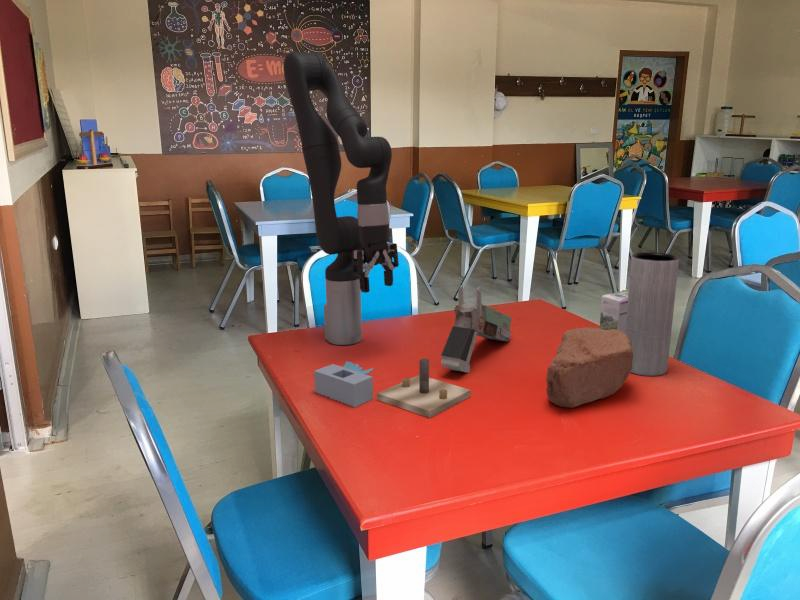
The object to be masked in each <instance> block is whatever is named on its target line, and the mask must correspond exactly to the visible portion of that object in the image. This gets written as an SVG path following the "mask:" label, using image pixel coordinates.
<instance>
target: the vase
mask: <svg viewBox="0 0 800 600" xmlns="http://www.w3.org/2000/svg"><path fill="white" fill-rule="evenodd" d="M630 259H631V260H630V269H629V271H630V272H629V281H628V283H629V284H628V294H627V296H628V304H627V315H626V327H625V334H626V335H627V336H628V337H629V339H630V342H631V347H632V351H633V362H632V370H631V372H630V374H634V375H638V376H645V377H646V376H647V377H658V376H662V375H664V374H666V373H667V372H668V366H669V360H670V359H669V357H670V349H671V337H672V328H673V318H674V311H675V300H676V291H677V290H676V289H677V281H678V280H677V279H678V273H679V272H678V270H679V262H680V260H679V259H680V258H679V257H678V256H677V255H674V254H669V253H664V252H663V253H662V252H647V251H646V252H636V253H633V254H632V255H631V258H630Z"/></svg>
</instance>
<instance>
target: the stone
mask: <svg viewBox="0 0 800 600" xmlns="http://www.w3.org/2000/svg"><path fill="white" fill-rule="evenodd" d="M632 362H633V351H632V347H631V342H630V339H629V337H628V336H627V335H626V334H625V333H623V332H621V331H620V330H616V329H610V330H603V329H600V327H591V326H590V327H589V326H586V327H585V326H584V327H576V328H573V329H568V330H565V331H564V332H563V335H562V337H561V342H560V343H559V346H558V347H557V351H556V356H554V358H552V360H551V362H550V364H549V366H548V367H547V372H546V378H545V379H546V396H547V399H548V400H549V401H550V402H551V403H553V404H554V405H556V406H559V407H563V408H571V409H573V408H575V407H579V406H581V405H584V404H588V403H591V402H594V401H596V400H601V399H605V398H607V397H610V396H612V395H614V394H615V393H616V392H617V391H619V390H620V389H621V388H622V387H623V385H624V384H625V382H626V381H627V378H628V377H629V376H630V375H631V370H632Z"/></svg>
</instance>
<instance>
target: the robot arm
mask: <svg viewBox="0 0 800 600" xmlns="http://www.w3.org/2000/svg"><path fill="white" fill-rule="evenodd" d="M282 66H283V77H284V82H285V84H286V88H287V92H288V94H289V99H290V102H291V106H292V110H293V112H294V116H295V120H296V124H297V129H298V135H299V139H300V144H301V150H302V156H303V159H304V164H305V167H306V172H307V177H308V183H309V188H310V193H311V197H312V198H311V199H312V206H313V215H314V223H315V224H314V225H315V226H314V227H315V233H316V239H317V242H318V244H319V248H320V249H321V250H322V252H324V254H327V255H330V256H331V255H332V256H333V255H336V258H335V259H334V260H333V261H332V262H331V263H330V264H329V265H327V266H326V268H325V269H324V270H325V271H324V272H325V273H324V276H325V277H324V278H325V302H326V303H325V304H324V305H323V324H324V326H323V327H324V340H327V342H328V343H330V344H333V345H336V346H337V345H339V346H347V345H350V346H351V345H354V344H358V343H360V342H361V341H362V338H363V336H362V294H361V293H365V294H366V293H370V278H369V275H370V272H371V270H373V269H374V266H377V265H380V266H381V267H382V268H383V281H384V282H383V283H384V286H387V287H392V286H394V285H393V284H394V270H395V268H398V267H399V265H400V264H399V254H398V253H399V252H398V245H397V244H398V243H393V242H390V241H391V235H390V232H391V231H390V217H389V216H390V214H389V213H390V212H389V208H388V197H387V194H388V193H387V184H388V183H387V182H388V179H389V173H390V169H391V168H390V167H391V163H392V156H393V155H392V154H393V153H392V147H391V145H390V143H389V140H388V139H386V138H385V137H383V136H367V134H368V126H367V123H366V122H365V120H364V119H363V117H362V116H361V114H360V113H359V112H358V111H357V109H356V108H355V107H354V106H353V104H352V103H351V101H350V100H349V98H348V97H347V95H346V93H345V91H344V89H343V86H342V85H341V82H340V80H339V78H338V76H337V74H336V72H335V70H334V67H333V66H332V64H331V62H330V61H329V59H328V58H327V57H326V56H325V55H324V54H322V53H320V52H314V51H313V52H309V51H307V52H305V51H302V52H301V51H291V52H288V53H287V54H286V55H285V56H284V60H283V65H282ZM311 91H313V92H314V91H320V92H321V93H322V94H323V95H324V96H325V97H326V99H327V103H326V117H327V120H328V122H329V124H330V125H331V127H332V128H333V130H334V131H333V130H332V128H331V127H330V126H329V124H327V122H326V121H325V120H324V119H323V118H322V116H321V115H320V113H318V111H317V110H316V108H315V105H314V103H313V101H312V99H311V95H310V92H311ZM334 132H335V133H336V134H337V135H338V137H339V138H340V141H341V143H342V147H343V150H344V153H345V157H346V159H347V161H348V162H349V163H350V164H351V165H352V166H353V167H355V168H359V169H367V168H369V169H370V170H369V173H368V176H366V177H364V178H361V179H359V180H358V181H357V182H356V198H357V199H356V200H357V202H356V203H357V209H356V210H357V211H356V212H357V213H356V214H357V215H356V216H354V215H353V216H351V215H346V216H345V215H344V216H337V211H336V210H337V209H336V205H335V194H336V189H337V186H338V182H339V179H340V174H341V172H342V171H341V170H342V157H341V151H340V146H339V143H338V139H337V136H336V135H335V133H334Z"/></svg>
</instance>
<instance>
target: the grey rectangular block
mask: <svg viewBox="0 0 800 600" xmlns="http://www.w3.org/2000/svg"><path fill="white" fill-rule="evenodd" d="M313 374H314V375H313V378H314V393H315V392H316V393H315V394H317V393H319V394H318V395H320V394H321V396H323V395H324V396H323V397H326V398H328V397H329V399H331V400H334V401H336V400H337V401H336V402H339V401H340V403H342V404H345V405H347V406H350V407H354V408H357V407H358V406H361V405H364V404H365V403H368V402H370V401H372V400H373V399H374V384H373V383H374V382H373V381H374V379H373V378H374V377H373V376H371V375H368V374H366V375H365V374H362V373H359V372H356V371H353V370H350V369H347V368H344V367H343V366H340V365H337V364H334V363H332V364H329V365H326V366H323V367H321V368H318V369H316V370H314V372H313ZM367 401H368V402H367Z"/></svg>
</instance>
